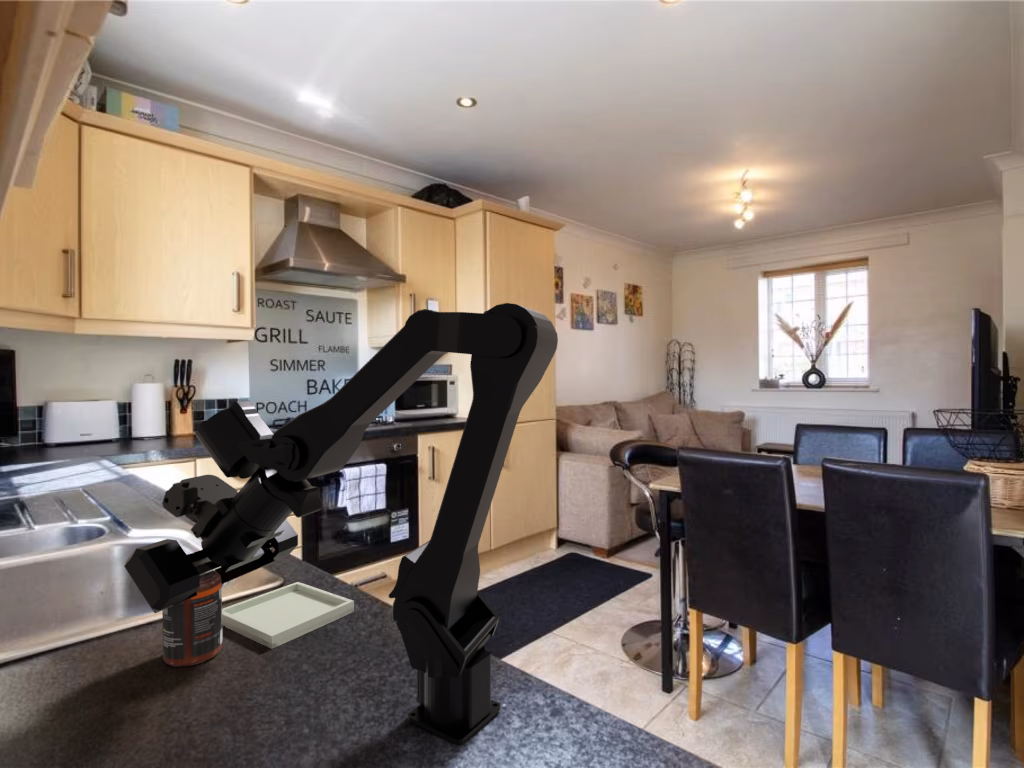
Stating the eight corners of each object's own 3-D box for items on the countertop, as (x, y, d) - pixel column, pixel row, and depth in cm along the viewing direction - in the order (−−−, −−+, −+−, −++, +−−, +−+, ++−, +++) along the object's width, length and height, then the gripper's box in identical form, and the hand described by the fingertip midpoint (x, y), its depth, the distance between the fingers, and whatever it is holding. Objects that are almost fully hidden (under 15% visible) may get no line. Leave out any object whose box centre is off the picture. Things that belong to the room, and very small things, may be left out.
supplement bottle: (233, 644, 67) (232, 550, 67) (201, 671, 61) (200, 567, 61) (186, 641, 67) (185, 548, 67) (149, 667, 61) (148, 565, 61)
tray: (354, 611, 76) (353, 600, 76) (272, 648, 66) (271, 636, 66) (298, 591, 83) (297, 581, 83) (215, 622, 72) (215, 611, 72)
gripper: (279, 443, 71) (213, 521, 75) (137, 467, 53) (61, 568, 57) (331, 510, 69) (260, 587, 73) (200, 559, 51) (116, 657, 55)
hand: (183, 596), depth 64 cm, fingers open, 7 cm apart
